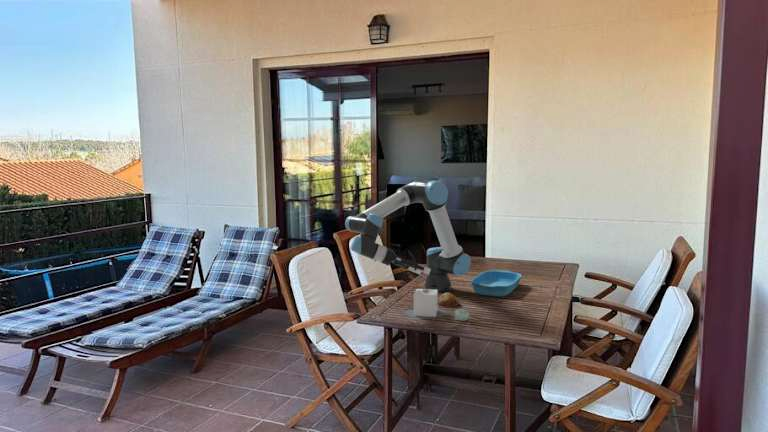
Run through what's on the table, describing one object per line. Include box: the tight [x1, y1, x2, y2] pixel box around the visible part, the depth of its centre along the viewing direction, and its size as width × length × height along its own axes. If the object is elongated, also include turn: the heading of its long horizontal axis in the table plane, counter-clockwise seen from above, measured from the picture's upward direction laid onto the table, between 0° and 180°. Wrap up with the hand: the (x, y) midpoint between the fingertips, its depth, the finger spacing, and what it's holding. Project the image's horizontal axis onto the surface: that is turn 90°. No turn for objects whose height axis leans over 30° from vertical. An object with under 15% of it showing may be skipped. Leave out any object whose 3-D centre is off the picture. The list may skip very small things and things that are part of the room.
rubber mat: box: [402, 307, 451, 321], centre depth 236 cm, size 18×14×1 cm
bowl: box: [454, 308, 470, 322], centre depth 227 cm, size 6×6×4 cm
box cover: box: [413, 288, 439, 318], centre depth 236 cm, size 10×10×11 cm
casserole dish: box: [470, 270, 522, 297], centre depth 279 cm, size 37×22×7 cm, turn 151°
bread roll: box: [438, 292, 460, 308], centre depth 251 cm, size 10×10×8 cm
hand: (425, 271), depth 237 cm, fingers open, 13 cm apart
